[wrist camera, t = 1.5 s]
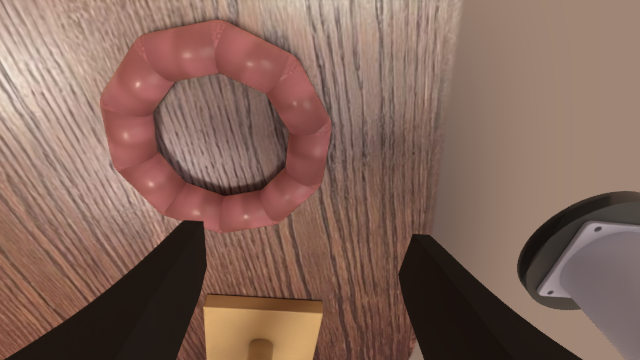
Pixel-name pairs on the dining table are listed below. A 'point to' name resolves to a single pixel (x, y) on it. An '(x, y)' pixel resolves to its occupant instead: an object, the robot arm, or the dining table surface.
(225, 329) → the stand
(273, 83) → the ring
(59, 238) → the dining table surface
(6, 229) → the dining table surface
